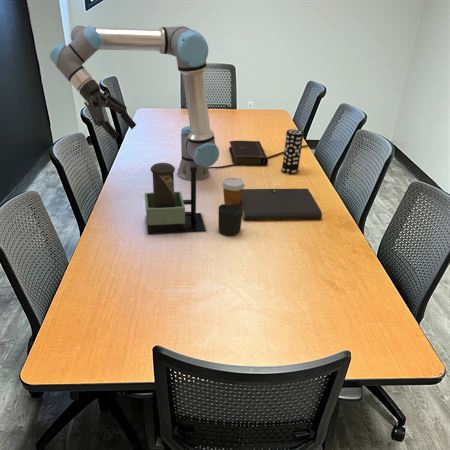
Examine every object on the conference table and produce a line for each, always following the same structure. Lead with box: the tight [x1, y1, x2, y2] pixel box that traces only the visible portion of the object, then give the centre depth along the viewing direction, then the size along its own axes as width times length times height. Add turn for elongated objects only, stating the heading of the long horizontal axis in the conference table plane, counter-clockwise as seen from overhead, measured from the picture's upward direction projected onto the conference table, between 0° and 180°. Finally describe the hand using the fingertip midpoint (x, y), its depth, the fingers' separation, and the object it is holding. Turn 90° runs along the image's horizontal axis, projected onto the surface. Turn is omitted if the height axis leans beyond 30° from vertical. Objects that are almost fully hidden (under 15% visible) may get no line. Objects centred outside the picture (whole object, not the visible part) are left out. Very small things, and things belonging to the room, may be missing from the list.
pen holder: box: [218, 203, 243, 237], centre depth 180 cm, size 9×9×10 cm
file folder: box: [240, 188, 323, 221], centre depth 200 cm, size 33×4×24 cm
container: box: [150, 162, 176, 208], centre depth 176 cm, size 9×9×20 cm
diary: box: [228, 140, 269, 167], centre depth 247 cm, size 19×25×5 cm
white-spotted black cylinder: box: [281, 128, 305, 176], centre depth 229 cm, size 8×8×20 cm
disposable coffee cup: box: [221, 177, 245, 205], centre depth 196 cm, size 10×10×12 cm
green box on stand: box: [144, 165, 207, 235], centre depth 178 cm, size 23×15×24 cm, turn 101°
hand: (125, 132), depth 176 cm, fingers open, 13 cm apart
